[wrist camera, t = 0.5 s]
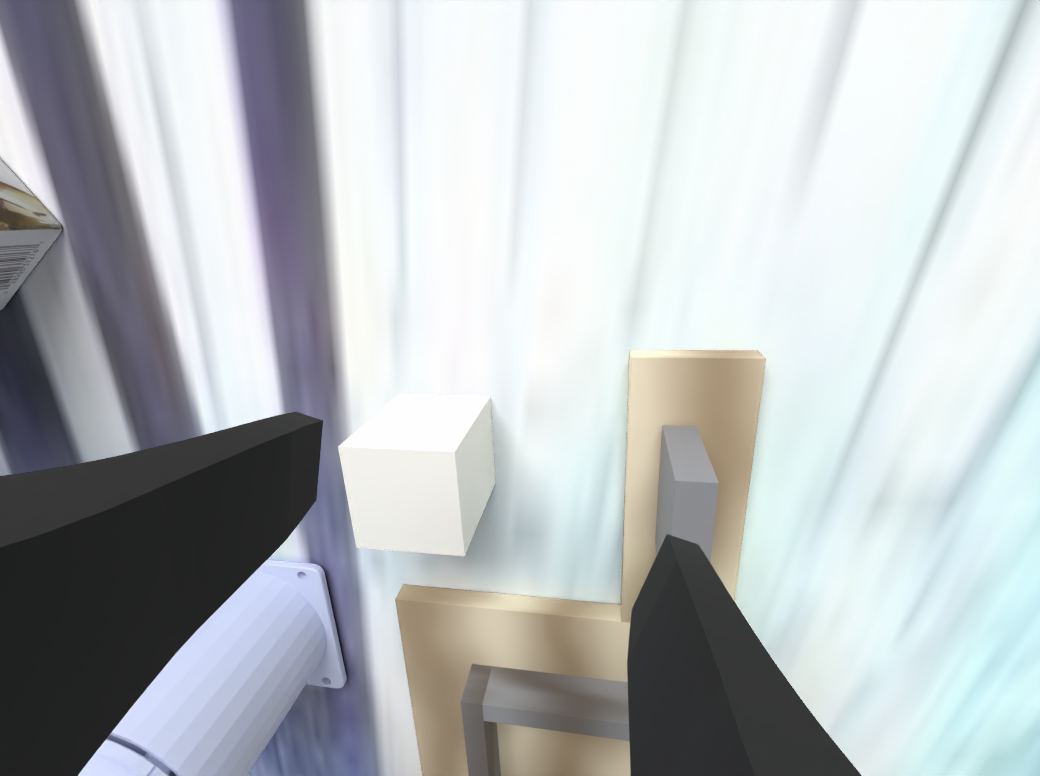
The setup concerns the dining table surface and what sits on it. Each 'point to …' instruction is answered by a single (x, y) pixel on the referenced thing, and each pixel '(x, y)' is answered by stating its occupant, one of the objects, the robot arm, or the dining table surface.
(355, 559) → the dining table surface
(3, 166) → the coffee box
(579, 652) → the beige board
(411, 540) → the white cube block
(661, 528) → the gate
